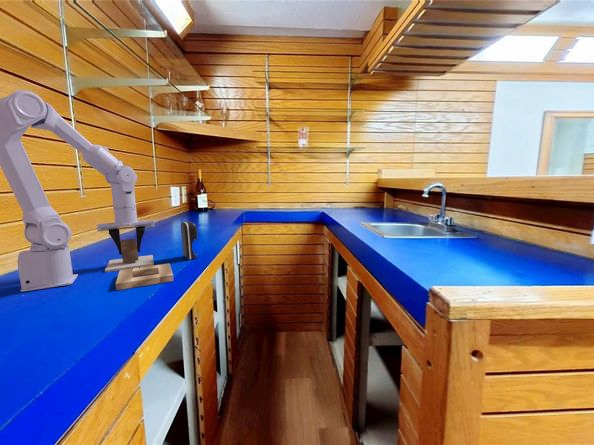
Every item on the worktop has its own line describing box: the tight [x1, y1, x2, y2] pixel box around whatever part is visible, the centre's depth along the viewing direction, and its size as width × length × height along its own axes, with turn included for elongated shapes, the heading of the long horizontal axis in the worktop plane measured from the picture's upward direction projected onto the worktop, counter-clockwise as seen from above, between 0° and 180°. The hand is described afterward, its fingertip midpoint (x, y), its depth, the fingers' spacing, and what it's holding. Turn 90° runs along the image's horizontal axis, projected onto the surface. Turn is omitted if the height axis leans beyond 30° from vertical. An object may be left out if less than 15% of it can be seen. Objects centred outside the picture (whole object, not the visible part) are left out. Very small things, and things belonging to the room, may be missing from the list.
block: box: [120, 237, 139, 262], centre depth 88 cm, size 4×4×6 cm
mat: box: [104, 254, 154, 273], centre depth 89 cm, size 12×12×1 cm
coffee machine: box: [180, 221, 199, 260], centre depth 94 cm, size 7×4×11 cm, turn 32°
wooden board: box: [115, 263, 174, 291], centre depth 75 cm, size 12×12×2 cm
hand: (129, 252), depth 88 cm, fingers closed on block, 4 cm apart
